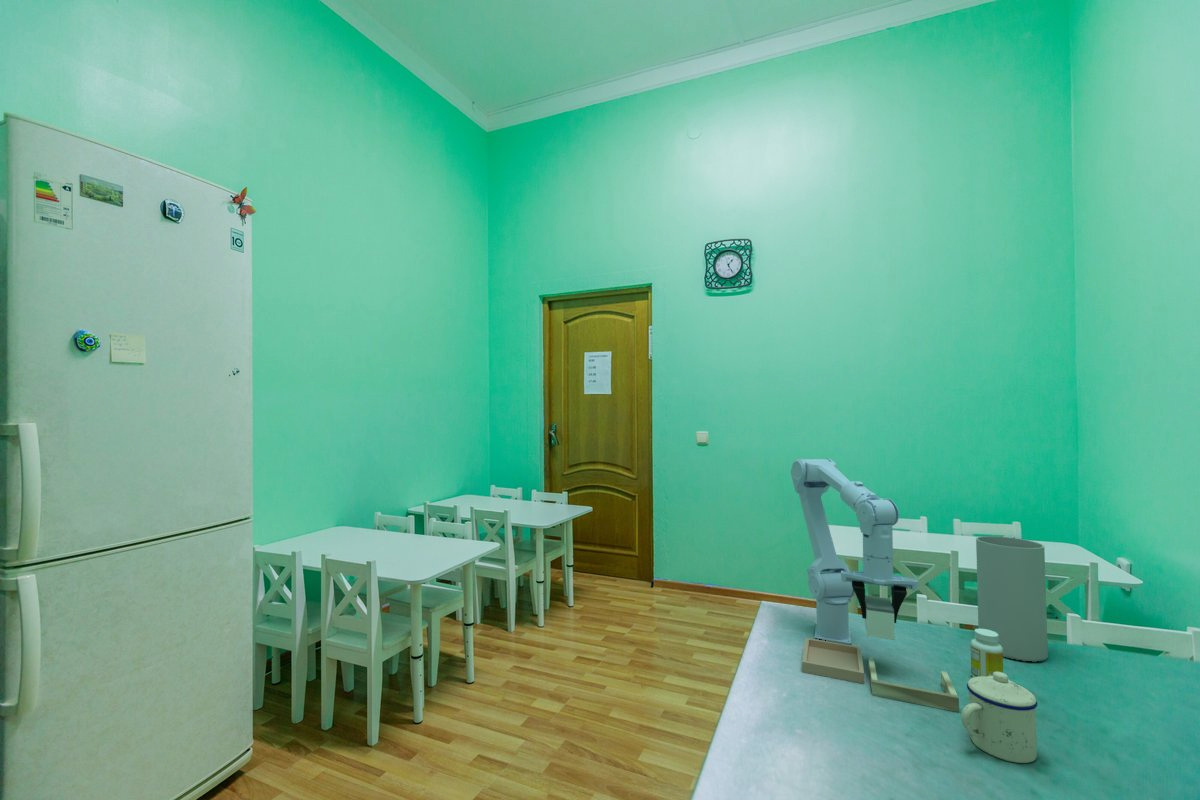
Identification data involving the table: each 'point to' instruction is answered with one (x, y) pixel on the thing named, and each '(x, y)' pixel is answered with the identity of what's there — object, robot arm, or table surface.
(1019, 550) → the cylinder vase
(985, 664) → the supplement bottle
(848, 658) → the tray
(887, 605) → the grey-green upright block
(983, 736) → the teacup with lid
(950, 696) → the bay
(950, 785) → the table surface
